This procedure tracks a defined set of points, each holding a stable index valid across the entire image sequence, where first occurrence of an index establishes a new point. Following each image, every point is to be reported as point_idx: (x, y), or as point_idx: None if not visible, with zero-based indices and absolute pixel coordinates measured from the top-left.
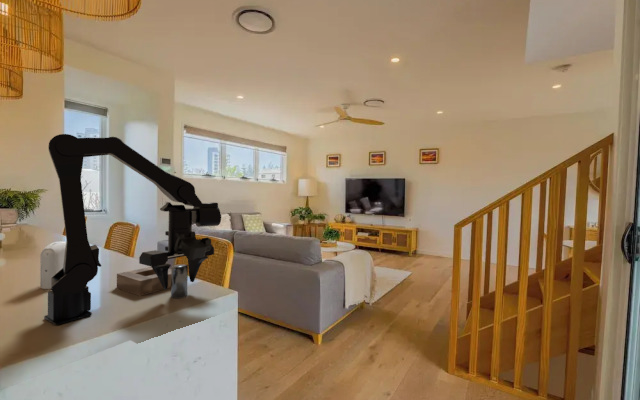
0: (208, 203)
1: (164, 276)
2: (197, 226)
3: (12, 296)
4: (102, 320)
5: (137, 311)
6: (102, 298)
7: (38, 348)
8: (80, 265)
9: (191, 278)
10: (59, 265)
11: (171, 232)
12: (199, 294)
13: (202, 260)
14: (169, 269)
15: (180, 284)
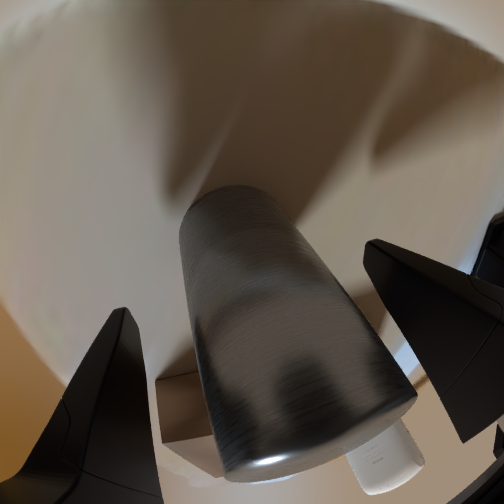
0: None
1: (477, 282)
2: None
3: (426, 383)
4: (500, 168)
5: (453, 157)
6: (404, 340)
7: None
8: None
9: (132, 341)
10: (394, 446)
11: None
12: (105, 174)
13: (1, 499)
14: (198, 461)
15: (288, 241)
